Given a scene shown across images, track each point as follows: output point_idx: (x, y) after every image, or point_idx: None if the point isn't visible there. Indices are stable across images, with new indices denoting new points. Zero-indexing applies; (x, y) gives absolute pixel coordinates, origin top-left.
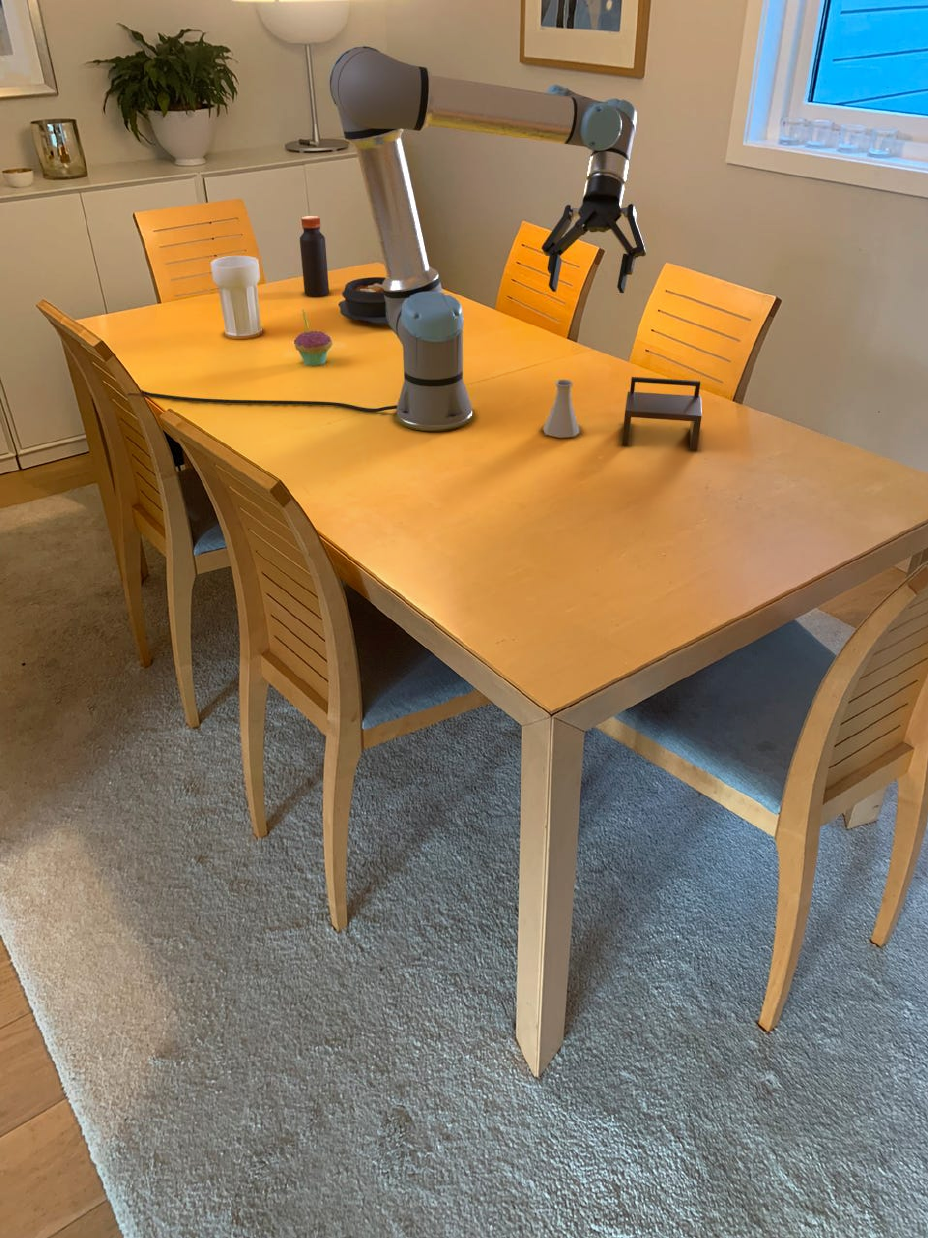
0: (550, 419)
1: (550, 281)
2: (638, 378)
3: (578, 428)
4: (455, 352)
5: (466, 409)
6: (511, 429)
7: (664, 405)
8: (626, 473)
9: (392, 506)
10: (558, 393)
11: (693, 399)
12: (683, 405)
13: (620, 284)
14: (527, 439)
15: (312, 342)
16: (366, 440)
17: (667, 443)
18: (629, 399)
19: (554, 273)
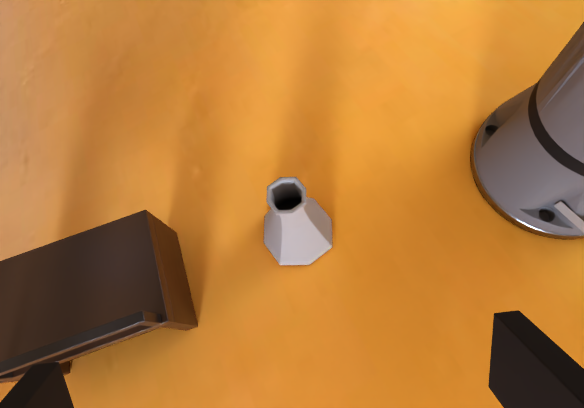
0: (309, 199)
1: (529, 329)
2: (125, 317)
3: (264, 238)
4: (570, 59)
5: (485, 159)
6: (385, 194)
7: (72, 279)
8: (143, 143)
9: None
10: (294, 189)
11: (13, 351)
12: (33, 301)
13: (29, 373)
14: (336, 171)
15: None
16: (567, 37)
17: None
18: (151, 272)
19: (552, 373)
